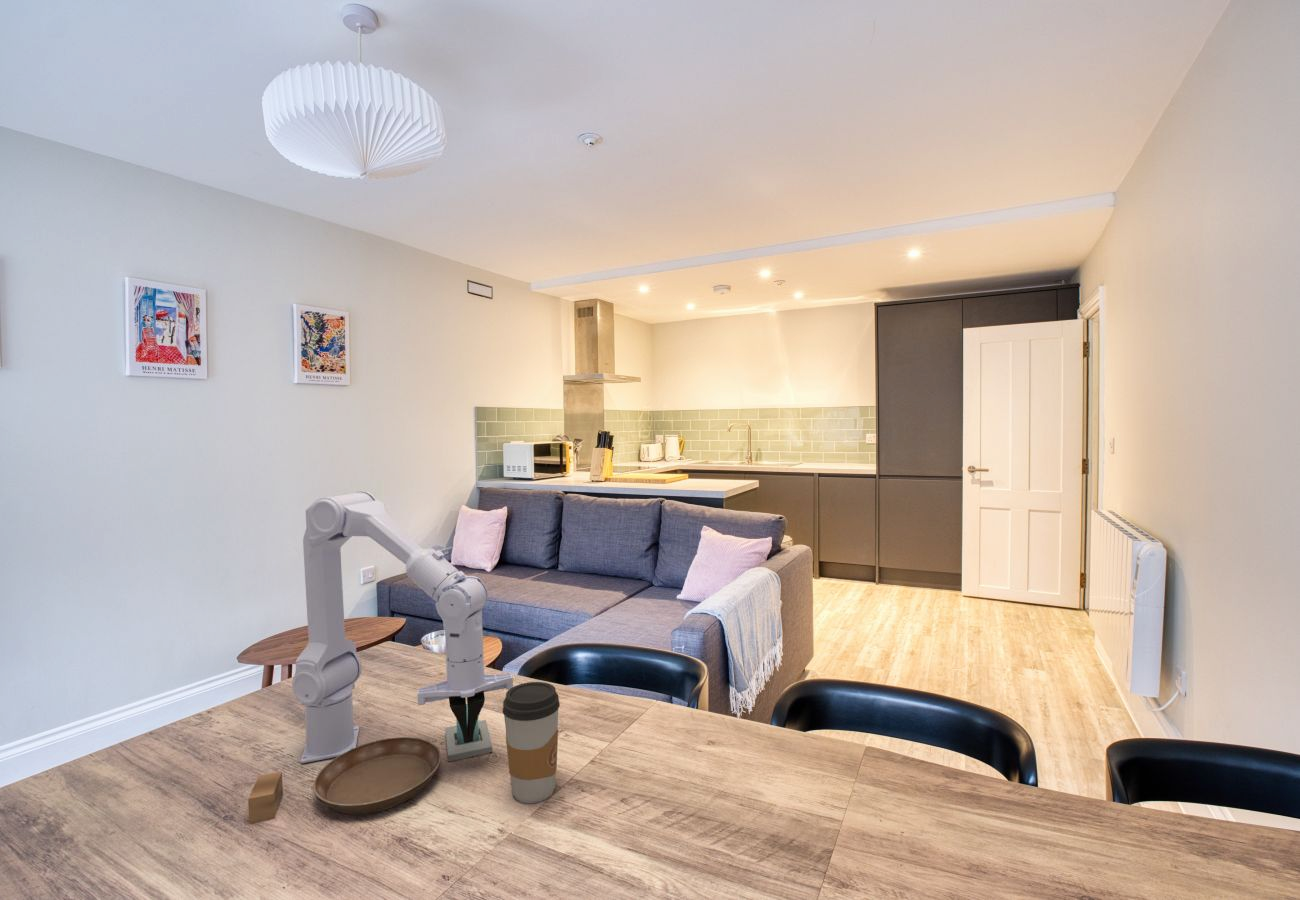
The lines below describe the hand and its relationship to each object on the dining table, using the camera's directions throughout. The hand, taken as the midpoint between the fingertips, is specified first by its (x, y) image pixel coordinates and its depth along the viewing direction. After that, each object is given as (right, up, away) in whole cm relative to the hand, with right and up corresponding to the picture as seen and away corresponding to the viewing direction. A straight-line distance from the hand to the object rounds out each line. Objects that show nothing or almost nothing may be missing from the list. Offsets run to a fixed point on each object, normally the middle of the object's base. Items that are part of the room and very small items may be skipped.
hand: (468, 739), depth 97 cm
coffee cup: (+12, -5, -7) cm, 15 cm away
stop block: (-26, -5, -10) cm, 28 cm away
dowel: (-2, -4, +7) cm, 9 cm away
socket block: (-2, -4, +7) cm, 9 cm away
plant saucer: (-12, -5, -4) cm, 14 cm away
